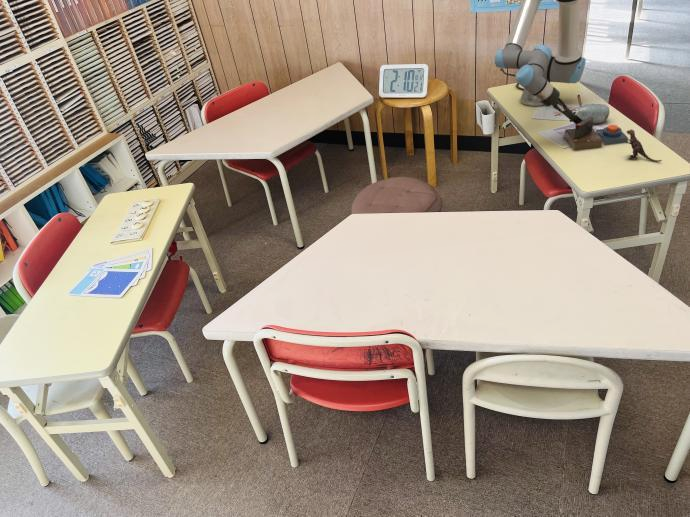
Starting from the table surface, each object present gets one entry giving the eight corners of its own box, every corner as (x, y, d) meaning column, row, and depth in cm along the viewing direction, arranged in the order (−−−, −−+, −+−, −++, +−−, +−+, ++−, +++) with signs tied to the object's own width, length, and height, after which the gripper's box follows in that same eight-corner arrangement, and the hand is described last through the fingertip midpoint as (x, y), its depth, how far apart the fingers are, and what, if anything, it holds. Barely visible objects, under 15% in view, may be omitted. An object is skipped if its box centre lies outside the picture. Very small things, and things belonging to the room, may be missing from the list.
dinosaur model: (628, 127, 209) (670, 134, 201) (622, 153, 216) (662, 161, 209) (625, 132, 206) (667, 139, 199) (619, 158, 214) (659, 166, 206)
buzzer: (595, 134, 233) (596, 125, 230) (617, 131, 232) (618, 123, 229) (605, 145, 224) (606, 136, 222) (627, 142, 223) (628, 133, 221)
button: (605, 129, 228) (606, 125, 227) (615, 128, 227) (616, 124, 226) (609, 133, 224) (609, 129, 223) (619, 131, 224) (619, 128, 223)
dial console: (560, 137, 236) (561, 129, 234) (593, 133, 234) (594, 125, 232) (570, 151, 224) (571, 143, 222) (605, 147, 223) (606, 139, 221)
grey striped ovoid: (610, 109, 243) (607, 95, 235) (611, 126, 239) (608, 112, 231) (577, 115, 250) (574, 102, 242) (578, 132, 246) (575, 119, 238)
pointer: (587, 129, 230) (589, 116, 226) (592, 130, 229) (593, 117, 225) (574, 138, 226) (575, 124, 222) (578, 139, 224) (580, 125, 221)
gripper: (535, 95, 228) (571, 126, 236) (543, 106, 218) (581, 138, 226) (549, 81, 224) (585, 113, 232) (558, 92, 214) (596, 125, 222)
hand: (583, 126), depth 229 cm, fingers closed
